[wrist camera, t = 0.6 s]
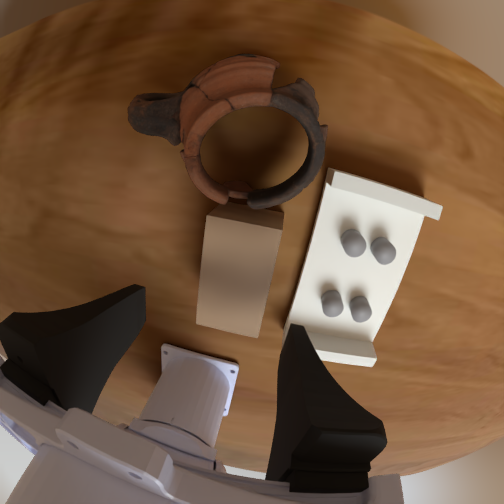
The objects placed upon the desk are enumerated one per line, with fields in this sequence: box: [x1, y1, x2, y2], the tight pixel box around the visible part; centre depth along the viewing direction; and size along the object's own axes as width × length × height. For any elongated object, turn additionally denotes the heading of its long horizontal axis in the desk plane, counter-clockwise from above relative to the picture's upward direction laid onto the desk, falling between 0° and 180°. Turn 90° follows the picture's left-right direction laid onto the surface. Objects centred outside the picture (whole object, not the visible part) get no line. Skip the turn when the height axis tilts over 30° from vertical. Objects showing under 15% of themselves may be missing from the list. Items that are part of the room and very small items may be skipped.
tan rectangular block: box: [196, 202, 284, 338], centre depth 20 cm, size 8×4×4 cm, turn 170°
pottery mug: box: [128, 54, 328, 209], centre depth 16 cm, size 12×10×8 cm
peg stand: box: [282, 167, 443, 367], centre depth 19 cm, size 14×8×3 cm, turn 169°
